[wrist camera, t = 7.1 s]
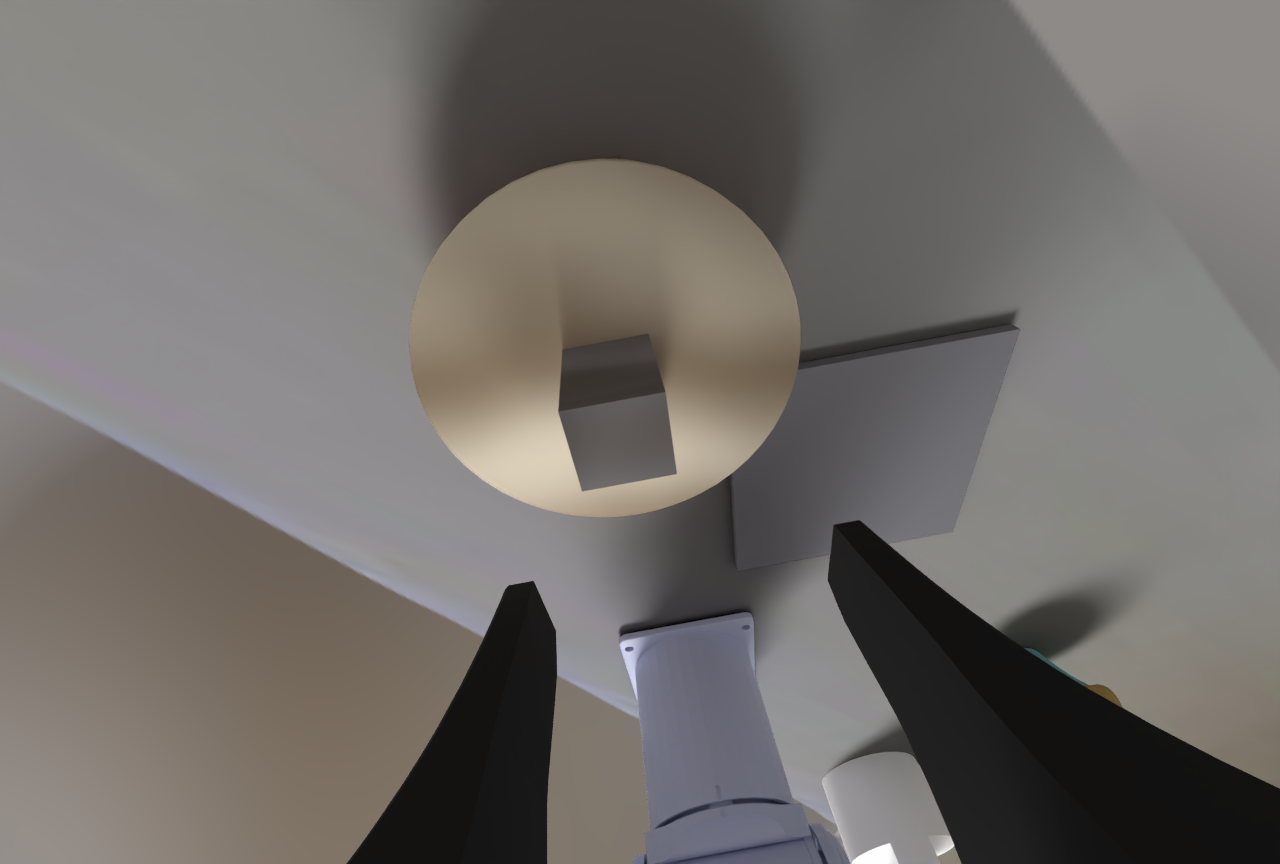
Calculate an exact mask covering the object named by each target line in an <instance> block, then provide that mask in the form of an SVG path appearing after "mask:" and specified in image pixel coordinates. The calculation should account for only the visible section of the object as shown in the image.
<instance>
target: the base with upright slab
mask: <svg viewBox="0 0 1280 864" xmlns="http://www.w3.org/2000/svg"><path fill="white" fill-rule="evenodd" d="M822 785H823V787H824V790H825V793H826V796H827V799H828V802H829V804H830V807H831V810H832V813H833V816H834V818H835V821H836V824H837V827H838V830H839V833H840V835H841V838H842V841H843V844H844V847H845V850H846V852H847V855H848V858H849V861H850V863H851V864H941V863H940V861H939V859H938V857H937V856H939V855H941V854H943V853H945V852H947V851H948V850H950V849H951V848H952V847H953V846H954V843H953V841H952V838H951V836H950V834H949V831H948V829H947V827H946V824H945V822H944V819H943V817H942V815H941V812H940V810H939V808H938V805H937V803H936V801H935V798H934V796H933V794H932V791H931V789H930V787H929V785H928V783H927V781H926V779H925V777H924V775H923V773H922V771H921V769H920V767H919V765H918V763H917V761H916V759H915V758H914V757H913V756H912V755H910V754H908V753H904V752H881V753H875V754H870V755H866V756H862V757H858V758H856V759H853V760H850V761H847V762H845V763H843V764H841V765H839V766H837V767H836V768H834V769H833V770H831V771H830V772H828V773H827V775H826V776H825V777H824V778H823V781H822Z"/></svg>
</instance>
